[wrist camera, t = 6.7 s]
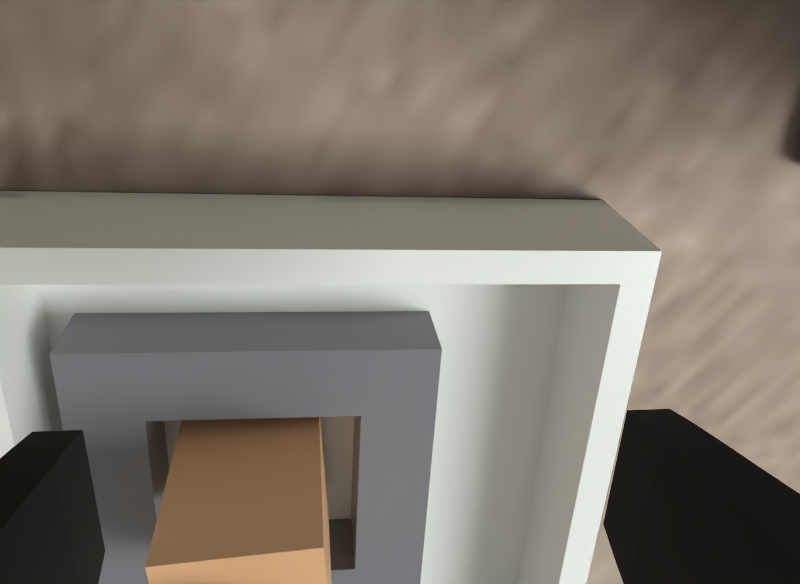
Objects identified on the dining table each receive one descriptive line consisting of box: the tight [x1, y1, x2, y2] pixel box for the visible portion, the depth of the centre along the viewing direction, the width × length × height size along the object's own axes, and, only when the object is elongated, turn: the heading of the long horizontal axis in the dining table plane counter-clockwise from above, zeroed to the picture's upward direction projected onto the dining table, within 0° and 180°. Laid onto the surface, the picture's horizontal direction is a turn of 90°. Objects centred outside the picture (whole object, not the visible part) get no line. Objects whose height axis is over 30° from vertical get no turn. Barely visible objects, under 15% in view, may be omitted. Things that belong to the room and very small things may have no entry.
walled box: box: [0, 191, 662, 584], centre depth 20 cm, size 15×15×4 cm
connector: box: [145, 417, 332, 584], centre depth 17 cm, size 4×4×8 cm
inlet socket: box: [50, 311, 442, 584], centre depth 20 cm, size 9×9×2 cm
